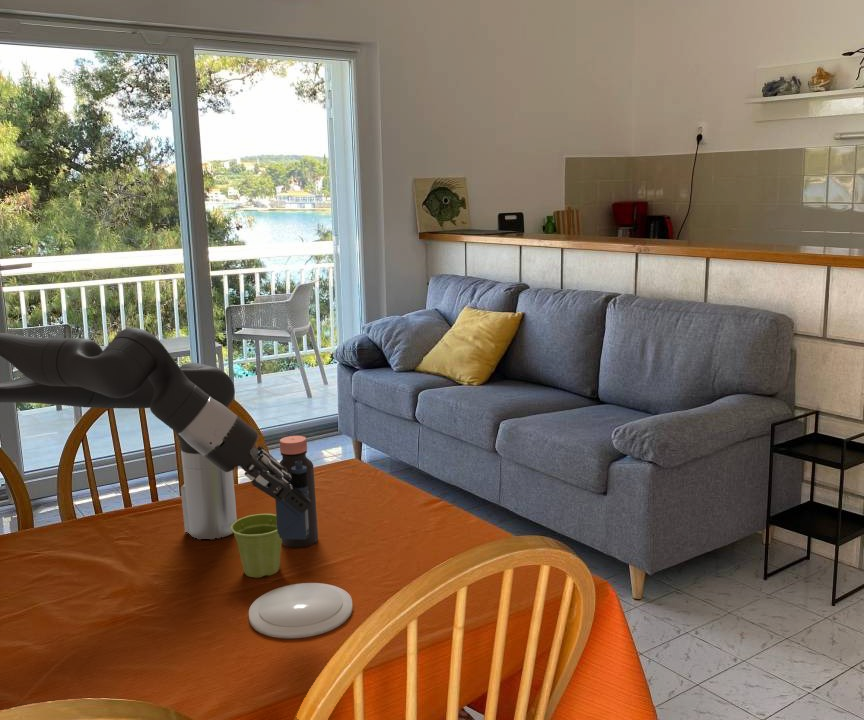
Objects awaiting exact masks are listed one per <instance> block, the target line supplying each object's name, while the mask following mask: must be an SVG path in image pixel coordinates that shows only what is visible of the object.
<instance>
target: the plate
mask: <svg viewBox="0 0 864 720" xmlns="http://www.w3.org/2000/svg"><path fill="white" fill-rule="evenodd" d="M352 613H353V599H352V596H351V595H350V594H349V593H348V592H347V591H346V590H344V589H343V588H340V587H338V586H337V585H333V584H328V583H322V582H321V583H319V582H305V583H304V582H302V583H295V584H289V585H284V586H282V587H278V588H275V589H272V590H270V591H268V592H266V593H264V594H261V596H259V597H258V598H256V599H255V600H254V601H253V602H252V604H250V607H249V610H248V620H249V621H248V622H249V624H250V626H251V627H252V628H253V629H254V630H255V631H256V632H258V633H259V634H262V635H265V636H268V637H272V638H277V639H301V638H308V637H313V636H318V635H322V634H325V633H327V632H331V631H332V630H334V629H336V628H338V627H340V626H341V625H342V624H344V623H345V622H347V620H348V619H349V618H350V616H351V615H352Z"/></svg>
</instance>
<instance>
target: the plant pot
mask: <svg viewBox="0 0 864 720" xmlns="http://www.w3.org/2000/svg"><path fill="white" fill-rule="evenodd" d="M231 531H232V532H233V533H232V534H233V535H234V539H235V540H236V542H237V546H238V552H239V556H240V560H241V561H240V562H241V564H242V569H243V572H244V574H245V575H246V576H247V577H250V578H257V579H259V578H262V577H265V576H273V575H274V574H276V573H277V572H278V571H280V567H281V550H282V538H280V537H279V534H278V532H277V517H276V513H275V514H273V513H258V514H251V515H246V516H244V517H241V518H239V519H237V520H236V521H235V522H234V523H233V524H232V525H231Z"/></svg>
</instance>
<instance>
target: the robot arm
mask: <svg viewBox="0 0 864 720" xmlns="http://www.w3.org/2000/svg"><path fill="white" fill-rule="evenodd" d="M0 356H1V357H2V358H3V359H4V360H6V361H7V362H8V363H10V364H11V365H12V366H13V367H14V368H15V369H17V371H19V372H20V373H21V374H22V375H23V376H20V377H17V378H14V379H10V380H6V381H3V382H0V403H20V404H21V403H25V404H27V403H28V404H42V405H43V404H44V405H56V406H67V407H75V408H76V407H77V408H89V409H90V408H92V409H149V410H150V412H151V414H153V415H154V417H156V418H157V419H158V420H160V421H161V422H162V423H163V424H165V425H166V426H167V427H169V429H171V430H172V431H174V432H175V434H176V437H177V438H178V441H179V444H180V453H181V454H180V456H181V462H182V463H181V464H182V473H183V482H184V483H183V485H181V487H180V495H181V504H182V516H183V526H184V533H185V532H188V533H189V534H190V535H191V536H192V537H194V538H193V539H195V538H197V539H196V540H201V539H210V540H216V539H215V538H217V539H221V537H222V538H224V537H227V536H230V535H232V534H234V533H233V532H232V531H231V525H232V524H233V523H234V522H235V521H236V520H238V519H237V518H238V517H237V506H236V494H235V481H234V472H233V470H234V469H235V468H237V467H239V468H240V467H241V469H242V470H243V471H244V473H243V474H244V476H245V477H246V478H248V479H249V480H250V481H251V485H252V486H253V487H254V488H257V489H258V490H260V492H261V491H262V492H263V493H264V494H266V495H268V496H269V497H271V498H273V499H274V500H275V499H276V500H277V501H279V502H281V501H282V500H285V501H287V502H288V503H289V504H290V505H292V506H293V507H294V508H296V509H297V510H298V511H299V512H301V513H304V512H305V511H306V510H307V509H308V508H309V507H310V505H311V501H310V500H309V499H308V498H307V497H306V496H304V495H303V494H302V493H301V492H299V491H298V490H297V489H295V488H294V487H293V485H292V478H291V476H290V474H289V473H287V470H286V468H285V467H283V466H282V465H281V464H280V463H279V461H278V460H277V459H276V458H275V457H273V456H272V455H271V454H270V453H269V452H268V451H267V450H266V449H265V448H264V447H263V446H261V445H259V446H258V447H255V445H256V443H257V441H258V439H259V433H258V432H257V430H256V429H254V428H253V427H252V426H250V425H249V424H248V423H247V422H245V421H244V420H243V419H242V418H241V417H240V416H238V415H237V414H235V413H234V412H233V411H232V410H231V409H229V408H228V407H229V406H230V405H231V403H232V402H233V400H234V398H235V392H236V390H235V384H234V383H233V381H232V378H231V377H230V376H229V374H227V373H226V372H225V371H223V370H222V369H220V368H218V367H216V366H212V365H208V364H203V363H200V362H189V363H188V362H187V363H184V364H183V365H181V366H179V365H178V363H177V362H176V361H175V359H174V358H173V356H171V354H170V352H169V351H168V350H167V348H166V347H165V346H164V344H163V343H162V342H161V341H160V340H159V339H158V338H157V336H154V335H153V334H152V333H151V332H149V331H147V330H144V329H142V328H138V327H126V328H124V329H122V330H121V331H119V332H118V333H117V334H116V335H115V336H114V338H113V339H112V340H111V341H110V342H109V343H108V345H107V346H106V347H105V348H104V349H102V347H101V346H100V345H99V343H97V342H96V341H94V340H92V339H89V338H84V337H83V338H82V337H79V338H78V337H77V338H76V337H75V338H74V337H72V338H71V337H69V338H68V337H66V338H65V337H64V338H61V337H60V338H57V337H56V338H49V337H48V338H46V337H45V338H44V337H33V336H27V335H19V334H13V333H8V332H7V333H6V332H0ZM290 478H291V479H290ZM278 486H280V487H282V488H281V489H280V491H278ZM188 533H187V534H188ZM189 534H188V535H189ZM190 535H189V536H190ZM191 536H190V537H191ZM192 537H191V538H192Z"/></svg>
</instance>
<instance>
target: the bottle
mask: <svg viewBox="0 0 864 720" xmlns="http://www.w3.org/2000/svg"><path fill="white" fill-rule="evenodd" d="M279 452H280V456H282V459H281V460H280V462H279V461H278V462H279V463H280V464H281V465H282V466H283V467H285V468H286V470H287V473H289V474H290V476H291V478H292V474H291V468H292V467H294V466H295V462H296V461H302V465H303V466H306V467H307V479H308V491H309V500H310V501H311V505H310V507H309V508H308V509H309V527H310V536H309V537H308V538H306V539H300V540H299V539H282V540H281V544H282V545H284V546H285V547H287V548H290V549H291V548H292V549H301V548H307V547H310V546H312V545H314V544H316V543H317V541H318V539H319V532H318V530H319V527H318V516H317V514H318V513H317V501H316V485H315V469H314V463H313V462H312V460H310V459H309V458H308V457H307V455H306V454H307V452H308V443H307V437H305V436H302V435H289V436H284V437H282V438H281V439H279ZM291 478H290V479H291Z"/></svg>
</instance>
